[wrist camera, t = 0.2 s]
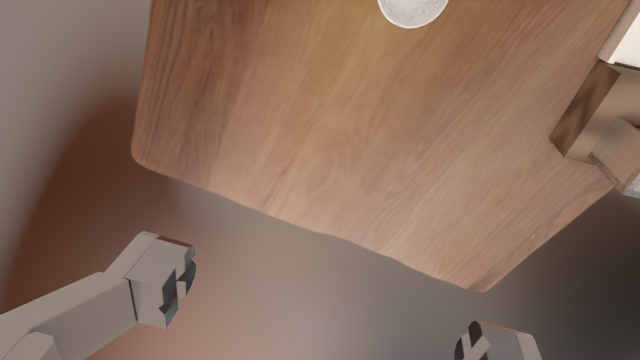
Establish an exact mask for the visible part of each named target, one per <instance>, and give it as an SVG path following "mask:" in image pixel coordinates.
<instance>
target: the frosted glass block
mask: <svg viewBox="0 0 640 360" xmlns="http://www.w3.org/2000/svg"><path fill="white" fill-rule="evenodd" d="M588 157H589V158H590V159H591V160H592V161H593V162H594V164H595V165H596V166H597V167H598V168H599V169H600V170H601V171H602V172H603V174H604V175H605V176H606V177H607V178H608V179H609V180H610V181H611V182H612V184H613V185H614V186H615V187H616V188H617V189H618V190H619V191H620V192H621V194H624V195H628V196H632V197H637V198H640V131H639V130H637V129H636V128H635V127H633V126H632V125H631V124H630V123H628V122H627V121H626V120H624V119H623V118H620V117H616V118H615V119H614V121H613V122H612V124H611V125H610V126H609V128H608V129H607V130H606V132H605V133H604V135H603V136H602V137H601V139H600V140H599V141H598V143H597V144H596V146H595V147H594V148H593V150H592V151H591V152H590V154H589V155H588Z"/></svg>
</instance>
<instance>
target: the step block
mask: <svg viewBox="0 0 640 360" xmlns="http://www.w3.org/2000/svg"><path fill="white" fill-rule="evenodd" d="M616 117H620V118H623V119H624V120H626V121H627V122H628V123H630V124H631V125H632V126H633V127H635V128H640V70H638V69H633V68H629V67H625V66H621V65H616V64H611V63H607V62H604V61H599V60H598V61H597V63H596V64H595V66H594V67H593V69H592V71H591V72H590V74H589V75H588V77H587V78H586V80H585V82H584V83H583V85H582V86H581V88H580V90H579V91H578V93H577V94H576V96H575V97H574V99H573V101H572V102H571V104H570V105H569V107H568V109H567V110H566V112H565V113H564V115H563V116H562V118H561V120H560V121H559V123H558V124H557V126H556V128H555V129H554V131H553V132H552V134H551V135H550V137H549V139H550V140H551V141H552V143H553V144H554V145H555V146H556V148H557V149H558V150H559V152H560V153H561V154H562V155H563V157H565V158H569V159H573V160H577V161H581V162H585V163H589V164H593V165H595V164H594V162H593V161H592V160H591V159H590V158H589V157H588V155H589V154H590V152H591V151H592V150H593V148H594V147H595V146H596V144H597V143H598V141H599V140H600V139H601V137H602V136H603V135H604V133H605V132H606V130H607V129H608V128H609V126H610V125H611V124H612V122H613V121H614V119H615V118H616Z"/></svg>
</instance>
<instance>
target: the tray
mask: <svg viewBox="0 0 640 360" xmlns="http://www.w3.org/2000/svg"><path fill="white" fill-rule="evenodd" d="M597 57H598V58H600V59H602V60H604V61H605V62H607V63H611V64H614V62H618V63H623V64H627V65H631V66H635V67H640V0H631V1H630V3H629V5H628V6H627V8H626V9H625V11H624V13H623V14H622V16H621V17H620V19H619V21H618V22H617V24H616V25H615V27H614V29H613V30H612V32H611V33H610V35H609V37H608V38H607V40H606V41H605V43H604V45H603V46H602V48H601V49H600V51H599V53H598V54H597Z"/></svg>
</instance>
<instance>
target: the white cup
mask: <svg viewBox="0 0 640 360" xmlns="http://www.w3.org/2000/svg"><path fill="white" fill-rule="evenodd" d="M377 1H378V4H379V7H380V10H381V11H382V13H383V15H384V16H385V17H386V18H387V19H388V20H389V21H390V22H391V23H393V24H395V25H397V26H399V27H403V28H417V27H421V26H424V25H426V24H428V23H430V22H431V21H433V20H434V19H435V18H436V17H437V16H438V15H439V14H440V13H441V12H442V11H443V9H444V8H445V6H446V5H447V3H448V0H377Z"/></svg>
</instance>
